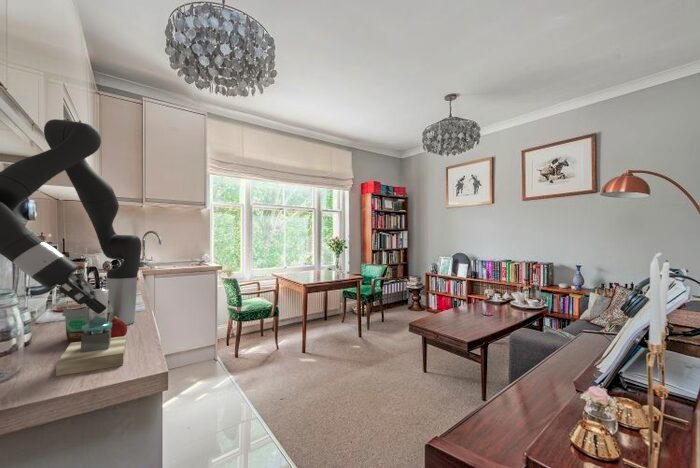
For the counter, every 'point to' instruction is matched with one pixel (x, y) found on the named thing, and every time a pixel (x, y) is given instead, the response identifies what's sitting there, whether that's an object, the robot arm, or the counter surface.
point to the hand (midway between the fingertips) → (104, 307)
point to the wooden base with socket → (92, 353)
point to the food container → (78, 322)
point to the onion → (118, 328)
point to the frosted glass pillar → (98, 320)
